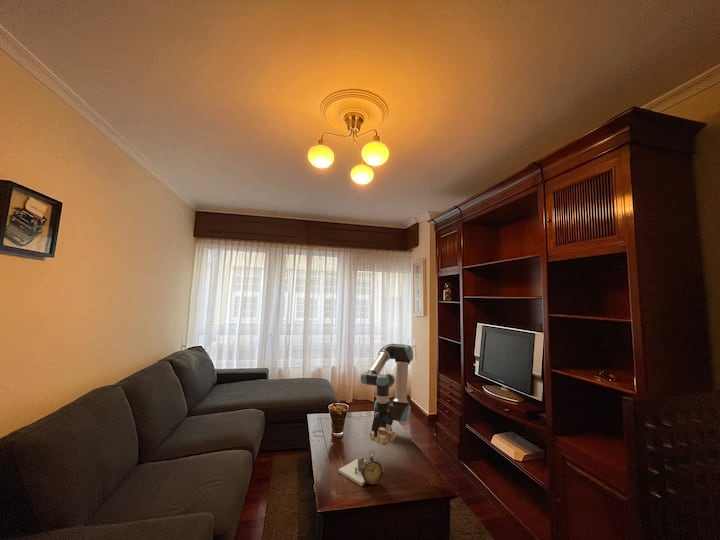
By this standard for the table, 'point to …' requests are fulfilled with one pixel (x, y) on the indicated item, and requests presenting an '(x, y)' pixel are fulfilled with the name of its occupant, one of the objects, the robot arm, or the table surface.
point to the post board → (354, 471)
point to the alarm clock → (371, 471)
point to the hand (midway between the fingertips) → (382, 438)
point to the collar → (383, 436)
